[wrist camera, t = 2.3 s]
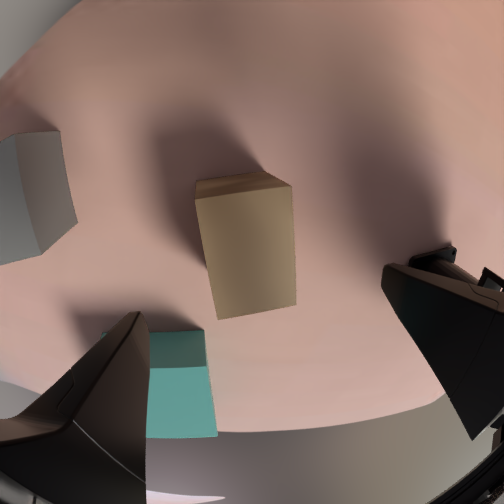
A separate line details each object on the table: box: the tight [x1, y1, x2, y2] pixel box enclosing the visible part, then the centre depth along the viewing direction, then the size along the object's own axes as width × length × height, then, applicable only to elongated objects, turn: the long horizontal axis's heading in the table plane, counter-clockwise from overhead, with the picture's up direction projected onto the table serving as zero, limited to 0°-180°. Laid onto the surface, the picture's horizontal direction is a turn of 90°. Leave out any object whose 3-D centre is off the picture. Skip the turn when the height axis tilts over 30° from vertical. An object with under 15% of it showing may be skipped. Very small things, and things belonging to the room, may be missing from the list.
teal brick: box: [101, 330, 218, 438], centre depth 19 cm, size 8×10×4 cm
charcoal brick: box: [0, 131, 78, 265], centre depth 11 cm, size 4×6×5 cm, turn 6°
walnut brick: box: [195, 171, 296, 320], centre depth 14 cm, size 4×6×5 cm, turn 6°
